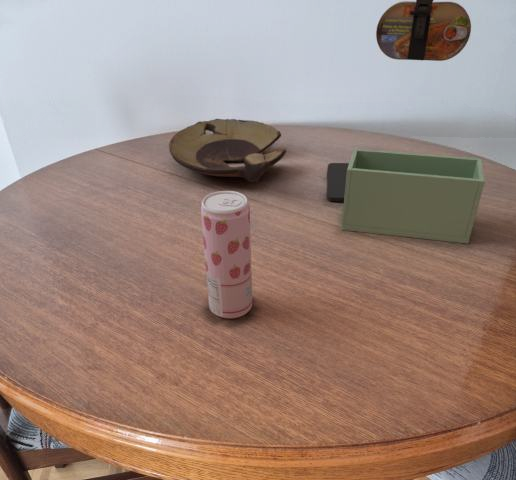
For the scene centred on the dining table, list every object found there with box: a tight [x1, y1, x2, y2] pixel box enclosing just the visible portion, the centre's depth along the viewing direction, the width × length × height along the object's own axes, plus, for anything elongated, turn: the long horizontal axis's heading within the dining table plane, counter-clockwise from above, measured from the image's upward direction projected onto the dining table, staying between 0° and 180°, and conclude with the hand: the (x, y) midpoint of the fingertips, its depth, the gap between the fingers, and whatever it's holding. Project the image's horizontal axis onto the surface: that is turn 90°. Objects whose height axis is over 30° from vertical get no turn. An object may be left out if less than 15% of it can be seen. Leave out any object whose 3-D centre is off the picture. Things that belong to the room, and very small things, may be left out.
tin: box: [375, 0, 472, 62], centre depth 90 cm, size 15×3×8 cm, turn 74°
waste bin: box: [341, 148, 486, 245], centre depth 85 cm, size 19×8×10 cm, turn 76°
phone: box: [326, 162, 349, 203], centre depth 99 cm, size 7×1×15 cm
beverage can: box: [200, 190, 253, 319], centre depth 67 cm, size 6×6×15 cm
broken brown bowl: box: [168, 118, 287, 183], centre depth 102 cm, size 22×30×8 cm
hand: (416, 56), depth 93 cm, fingers closed on tin, 3 cm apart
